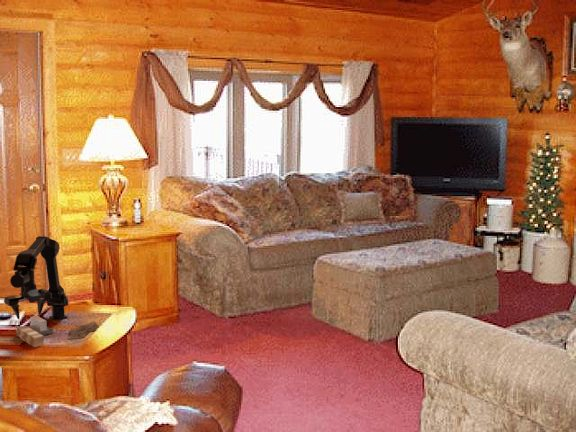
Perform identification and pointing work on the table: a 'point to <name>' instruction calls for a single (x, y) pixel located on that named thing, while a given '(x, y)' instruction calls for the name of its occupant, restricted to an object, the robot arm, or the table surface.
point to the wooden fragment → (82, 331)
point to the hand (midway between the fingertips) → (29, 316)
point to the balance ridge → (40, 325)
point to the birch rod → (30, 336)
